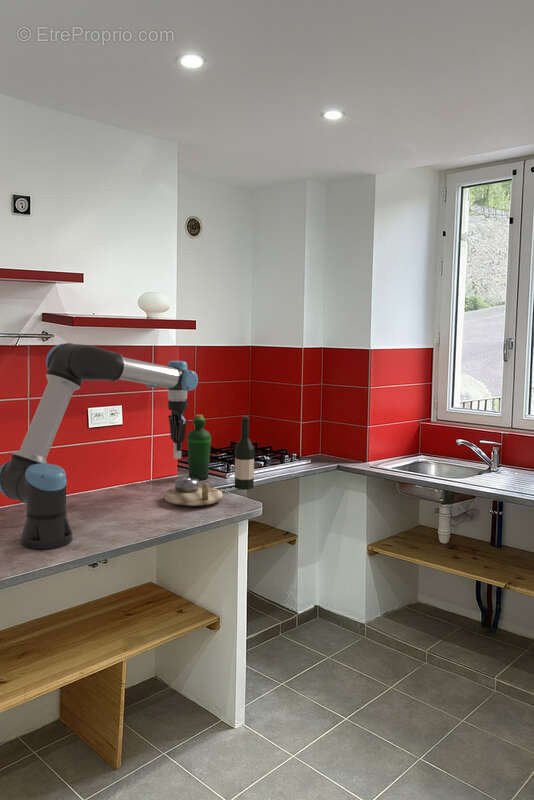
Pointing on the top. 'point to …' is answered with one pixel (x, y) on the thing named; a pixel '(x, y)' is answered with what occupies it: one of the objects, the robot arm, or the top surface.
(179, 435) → the robot arm
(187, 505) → the turntable base
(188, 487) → the cover
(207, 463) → the bottle
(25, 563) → the top surface
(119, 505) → the top surface
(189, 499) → the turntable
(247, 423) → the wine bottle
